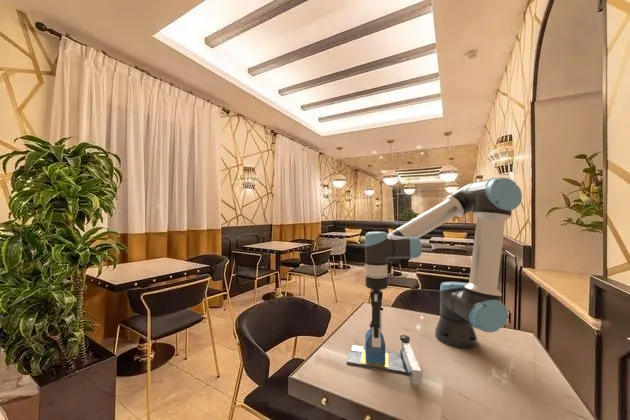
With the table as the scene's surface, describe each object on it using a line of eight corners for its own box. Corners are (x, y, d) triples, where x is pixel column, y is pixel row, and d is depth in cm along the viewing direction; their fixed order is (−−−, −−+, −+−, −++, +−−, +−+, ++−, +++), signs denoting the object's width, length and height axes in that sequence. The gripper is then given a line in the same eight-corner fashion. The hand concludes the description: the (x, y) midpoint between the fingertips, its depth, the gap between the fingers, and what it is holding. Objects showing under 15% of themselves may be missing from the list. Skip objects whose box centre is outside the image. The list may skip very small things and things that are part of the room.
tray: (413, 356, 93) (413, 350, 93) (416, 376, 81) (416, 369, 81) (351, 346, 99) (351, 341, 99) (346, 363, 87) (346, 357, 87)
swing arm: (399, 348, 94) (399, 334, 94) (408, 349, 93) (408, 335, 93) (410, 384, 74) (411, 366, 74) (422, 385, 73) (422, 367, 73)
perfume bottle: (382, 353, 92) (383, 319, 93) (385, 363, 86) (385, 326, 87) (365, 352, 93) (365, 318, 94) (366, 361, 87) (366, 325, 87)
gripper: (367, 268, 104) (368, 321, 104) (362, 284, 80) (363, 353, 80) (387, 269, 102) (388, 323, 102) (387, 285, 78) (388, 357, 78)
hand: (377, 337), depth 91 cm, fingers open, 13 cm apart
